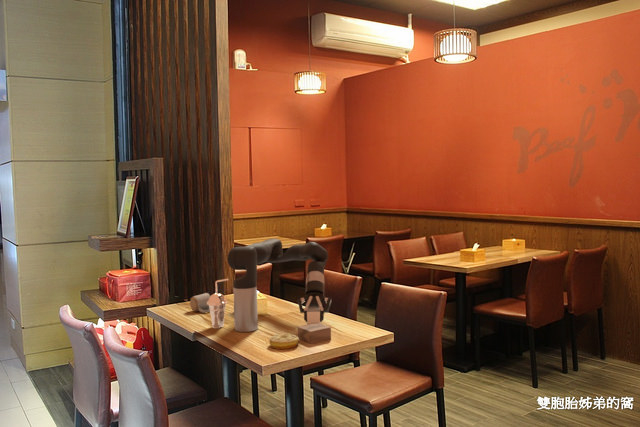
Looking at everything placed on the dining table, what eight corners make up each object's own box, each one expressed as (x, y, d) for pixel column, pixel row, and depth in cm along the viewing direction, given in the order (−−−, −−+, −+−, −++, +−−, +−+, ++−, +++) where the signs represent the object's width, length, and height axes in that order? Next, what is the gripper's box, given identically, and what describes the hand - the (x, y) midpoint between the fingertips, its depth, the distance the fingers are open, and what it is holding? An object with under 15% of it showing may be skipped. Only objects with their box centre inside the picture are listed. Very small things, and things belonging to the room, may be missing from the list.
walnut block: (297, 338, 216) (297, 326, 216) (317, 334, 221) (316, 322, 221) (311, 343, 209) (310, 331, 208) (331, 339, 214) (330, 327, 214)
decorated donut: (303, 343, 211) (303, 332, 211) (291, 351, 201) (291, 340, 201) (277, 340, 215) (277, 330, 214) (264, 348, 205) (264, 338, 204)
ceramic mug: (189, 310, 267) (188, 294, 266) (205, 307, 272) (204, 291, 271) (200, 315, 259) (199, 298, 258) (216, 311, 264) (215, 295, 263)
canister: (308, 328, 230) (307, 306, 229) (321, 328, 229) (320, 306, 229) (307, 332, 225) (306, 309, 224) (320, 331, 225) (319, 309, 224)
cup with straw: (217, 323, 242) (215, 276, 241) (233, 325, 237) (232, 277, 236) (203, 328, 235) (201, 279, 234) (220, 330, 230) (218, 281, 229)
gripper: (333, 289, 239) (332, 325, 227) (298, 290, 240) (296, 326, 228) (332, 279, 233) (331, 315, 222) (296, 279, 234) (294, 316, 223)
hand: (313, 320), depth 225 cm, fingers closed on canister, 5 cm apart
